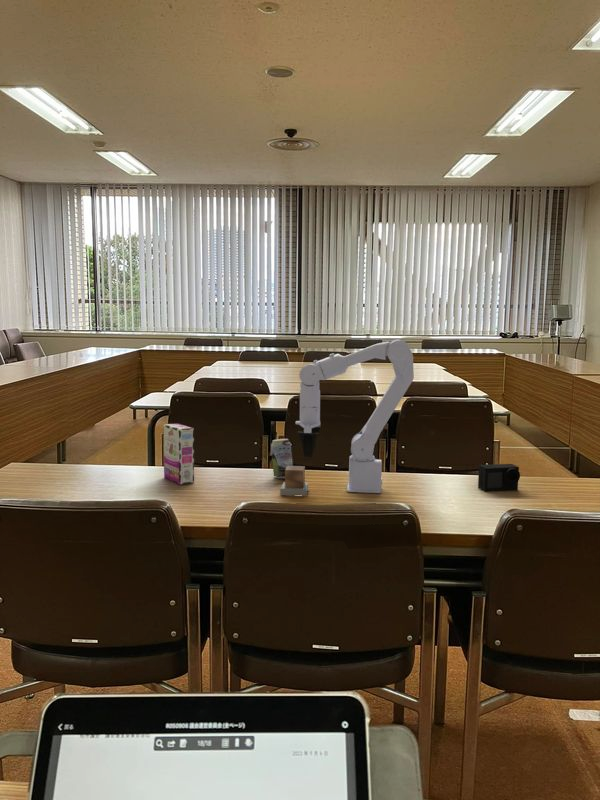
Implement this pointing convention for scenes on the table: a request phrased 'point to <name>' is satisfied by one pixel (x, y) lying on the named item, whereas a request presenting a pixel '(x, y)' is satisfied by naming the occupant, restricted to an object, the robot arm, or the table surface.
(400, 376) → the robot arm
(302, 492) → the plinth
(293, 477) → the walnut block
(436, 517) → the table surface
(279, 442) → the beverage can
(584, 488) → the table surface
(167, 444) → the candy bar box
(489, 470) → the digital camera
